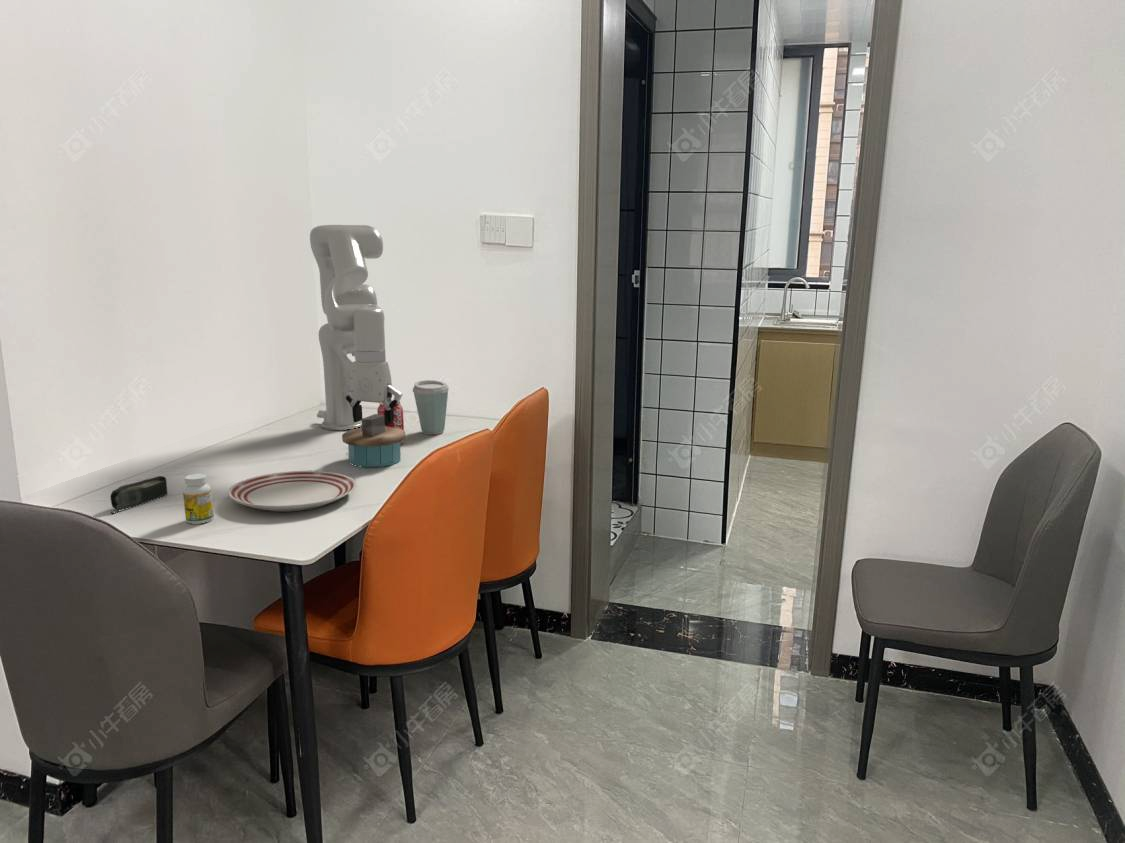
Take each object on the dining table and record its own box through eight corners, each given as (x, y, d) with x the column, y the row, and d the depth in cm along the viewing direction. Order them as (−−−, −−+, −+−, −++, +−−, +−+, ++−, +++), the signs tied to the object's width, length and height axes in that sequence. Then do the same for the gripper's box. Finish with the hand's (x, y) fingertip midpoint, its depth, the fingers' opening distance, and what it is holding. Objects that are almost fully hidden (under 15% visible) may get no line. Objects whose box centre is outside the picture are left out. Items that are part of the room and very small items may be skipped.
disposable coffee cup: (457, 432, 250) (456, 382, 246) (429, 438, 242) (428, 387, 239) (434, 426, 257) (433, 378, 253) (406, 432, 249) (404, 382, 245)
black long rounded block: (158, 473, 192) (102, 491, 179) (168, 475, 191) (112, 492, 177) (160, 494, 193) (104, 513, 180) (170, 496, 192) (114, 515, 179)
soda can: (407, 441, 239) (405, 400, 237) (400, 447, 232) (398, 405, 230) (383, 440, 240) (381, 399, 237) (375, 447, 233) (373, 404, 230)
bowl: (339, 464, 216) (338, 441, 215) (367, 451, 228) (366, 430, 227) (383, 469, 212) (382, 446, 210) (409, 456, 224) (409, 435, 222)
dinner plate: (291, 475, 208) (290, 462, 207) (381, 491, 196) (380, 477, 195) (201, 508, 184) (199, 493, 183) (297, 528, 172) (296, 513, 171)
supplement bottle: (218, 520, 176) (214, 476, 174) (193, 526, 172) (188, 482, 170) (206, 514, 179) (202, 471, 177) (181, 520, 175) (176, 476, 173)
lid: (329, 442, 214) (328, 420, 213) (365, 428, 229) (364, 408, 227) (384, 448, 209) (383, 426, 207) (416, 434, 223) (416, 413, 222)
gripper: (332, 356, 213) (336, 423, 217) (392, 361, 207) (394, 429, 211) (349, 352, 220) (353, 416, 224) (407, 356, 214) (410, 422, 218)
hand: (373, 422), depth 218 cm, fingers open, 9 cm apart
